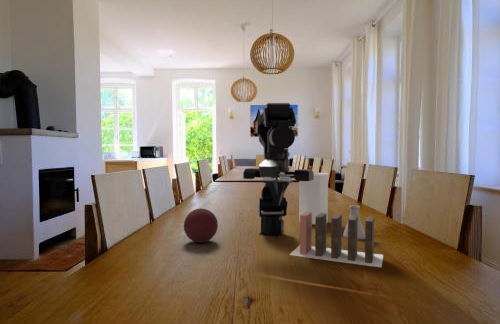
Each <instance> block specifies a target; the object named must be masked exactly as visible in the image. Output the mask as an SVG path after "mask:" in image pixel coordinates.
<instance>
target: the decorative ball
mask: <svg viewBox="0 0 500 324" xmlns="http://www.w3.org/2000/svg"><path fill="white" fill-rule="evenodd" d="M218 226H219V225H218V220H217V217H216V215H215V214H214V213H213V211H211V210H209V209H207V208H202V207H199V208H195V209H192V211H190V212H189V213H188V214H187V215H186V217H185V219H184V222H183V231H184V233H185V235H186V237H187V238H188V239H189V240H191V242H195V243H199V244H202V243H206V242H209V241H210V240H212V239H213V238H214V236H215V235H216V234H217V231H218V228H219V227H218Z"/></svg>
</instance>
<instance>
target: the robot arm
mask: <svg viewBox="0 0 500 324" xmlns="http://www.w3.org/2000/svg"><path fill="white" fill-rule="evenodd" d="M262 109H263V110H262V113H261V114H260V116H259V117H258V118H257V121H256V135H257V136H258V142H259V143H260V145H261V146H262V147H263V160H262V161H261V162H260V163H259V164H258V167H251V168H250V167H248V168H245V169H244V170H243V172H242V173H243V174H242V175H243V176H242V178H243V180H254V179H255V178H262V179H263V180H262V181H261V182H262V183H263V184H264V185H263V187H262V190H261V193H260V197H258V206H257V210H258V211H257V212H258V214H257V215H258V217H260V232H259V233H258V235H260V236H269V237H279V236H281V235H283V234H284V232H285V231H284V228H285V227H284V225H285V221H284V219H283V217H286V216H287V215H288V214H287V211H288V210H287V209H288V204H289V203H288V200H287V198H286V197H285V193H286V190H287V189H288V187H289V185H290V184H291V183H293V182H294V180H295V181H297V182H300V181H311V180H314V173H315V172H314V171H313V170H312V168H311V169H309V168H308V169H307V168H306V169H305V168H300V169H294V171H290V166H289V157H290V152H289V148H290V147H292V145H293V144H294V142H295V140H296V138H295V137H296V135H295V131H294V130H293V129H292V128H294V127H295V126H296V124H297V119H296V114H295V111H294V109H293V107H291V104H290V103H289V102H267V103H266V105H265V106H263V108H262ZM278 178H279V179H278ZM293 179H294V180H293Z"/></svg>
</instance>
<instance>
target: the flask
mask: <svg viewBox="0 0 500 324" xmlns="http://www.w3.org/2000/svg"><path fill="white" fill-rule="evenodd" d="M349 208H350V209H349V216H348V217H349V218H350V216H351V215H356V216H358V236H357V240H365V228H364V226H363V224H362V220H361V216H360V209H361V206H360V205H356V204H352V205H351V204H350V205H349ZM349 218H348V219H349ZM342 237H344V238H345V239H348V222H347V223H346V226H345V228H344V230H343V233H342Z"/></svg>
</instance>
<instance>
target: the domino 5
mask: <svg viewBox="0 0 500 324" xmlns="http://www.w3.org/2000/svg"><path fill="white" fill-rule="evenodd" d="M364 232H365V239H364V253H365V262H366V263H372V261H373V257H374V254H375V253H374V252H375V249H374V248H375V216H367V217H366V219H365V228H364Z"/></svg>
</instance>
